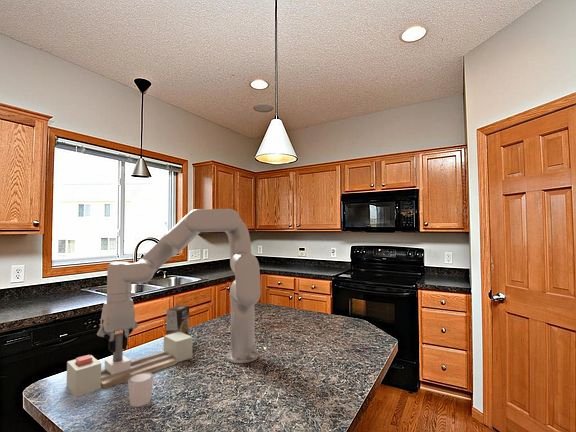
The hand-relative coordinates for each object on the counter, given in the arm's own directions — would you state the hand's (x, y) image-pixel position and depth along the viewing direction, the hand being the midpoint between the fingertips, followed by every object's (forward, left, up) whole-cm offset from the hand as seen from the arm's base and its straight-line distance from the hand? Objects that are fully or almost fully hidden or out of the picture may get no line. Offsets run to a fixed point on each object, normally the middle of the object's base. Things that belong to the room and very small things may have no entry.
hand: (117, 349), depth 109 cm
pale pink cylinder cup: (-22, +1, -9) cm, 24 cm away
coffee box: (+13, -30, -9) cm, 34 cm away
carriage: (0, 0, -7) cm, 7 cm away
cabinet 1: (0, +10, -9) cm, 14 cm away
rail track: (0, -6, -9) cm, 11 cm away
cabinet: (0, -23, -9) cm, 24 cm away
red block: (0, +10, -4) cm, 11 cm away
